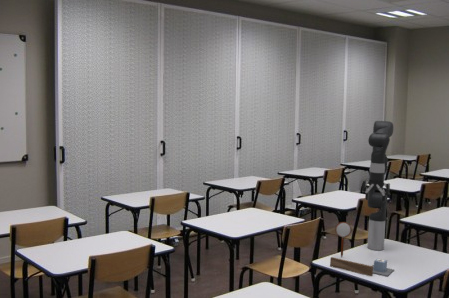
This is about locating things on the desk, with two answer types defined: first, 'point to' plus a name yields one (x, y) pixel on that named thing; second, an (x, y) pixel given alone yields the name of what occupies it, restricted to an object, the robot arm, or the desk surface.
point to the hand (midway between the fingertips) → (375, 201)
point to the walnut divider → (351, 266)
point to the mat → (383, 272)
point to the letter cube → (380, 265)
